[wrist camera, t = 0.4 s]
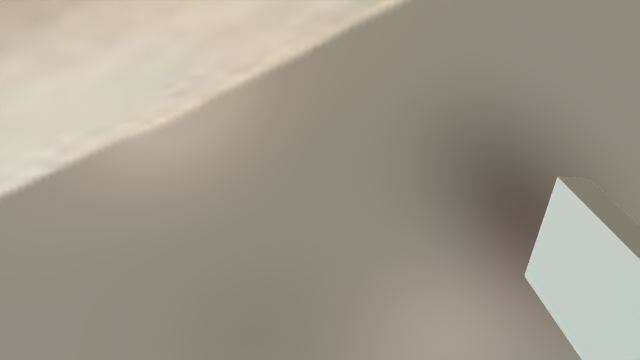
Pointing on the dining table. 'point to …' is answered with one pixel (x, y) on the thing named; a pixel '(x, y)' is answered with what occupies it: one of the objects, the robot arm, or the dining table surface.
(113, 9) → the dining table surface
